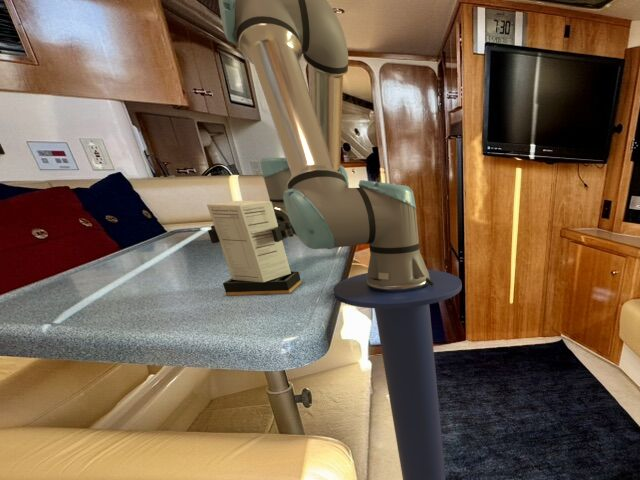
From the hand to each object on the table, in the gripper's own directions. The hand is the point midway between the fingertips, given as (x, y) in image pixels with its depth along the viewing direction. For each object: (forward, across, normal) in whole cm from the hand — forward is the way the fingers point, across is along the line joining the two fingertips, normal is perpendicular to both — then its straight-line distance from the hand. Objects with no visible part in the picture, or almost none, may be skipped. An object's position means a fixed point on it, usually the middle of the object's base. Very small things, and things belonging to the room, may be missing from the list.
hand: (243, 236), depth 90 cm
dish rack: (-3, 0, -13) cm, 14 cm away
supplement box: (-3, 0, -10) cm, 11 cm away
